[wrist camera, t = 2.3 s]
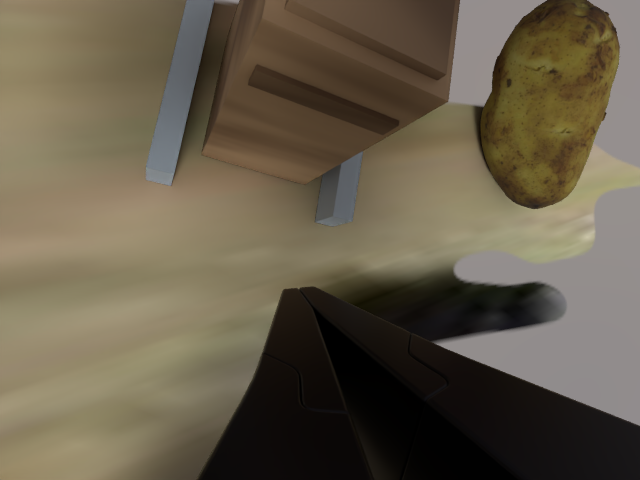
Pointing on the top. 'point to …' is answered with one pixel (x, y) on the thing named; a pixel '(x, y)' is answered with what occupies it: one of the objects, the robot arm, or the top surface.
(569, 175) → the potato
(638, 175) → the top surface
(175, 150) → the blue-gray angular pronged part
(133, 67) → the top surface
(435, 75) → the crate
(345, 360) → the robot arm
